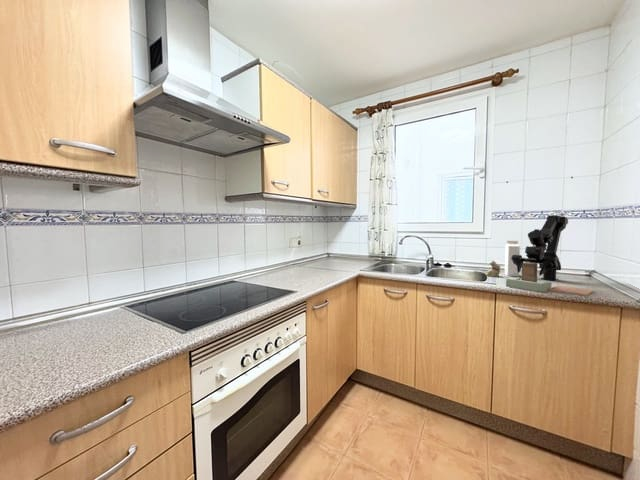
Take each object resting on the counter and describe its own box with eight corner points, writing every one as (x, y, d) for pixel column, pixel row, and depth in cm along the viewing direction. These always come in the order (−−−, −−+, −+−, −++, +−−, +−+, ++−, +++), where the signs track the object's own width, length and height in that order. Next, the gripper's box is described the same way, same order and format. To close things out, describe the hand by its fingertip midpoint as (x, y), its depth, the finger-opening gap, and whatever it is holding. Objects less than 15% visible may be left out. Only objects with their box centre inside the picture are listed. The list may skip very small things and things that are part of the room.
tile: (558, 286, 137) (558, 285, 137) (593, 291, 126) (593, 290, 126) (549, 290, 130) (549, 288, 130) (586, 296, 119) (586, 294, 119)
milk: (504, 274, 171) (505, 240, 170) (515, 274, 169) (516, 240, 168) (507, 276, 165) (508, 241, 164) (519, 276, 163) (520, 241, 162)
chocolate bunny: (501, 277, 162) (501, 261, 161) (486, 276, 165) (486, 260, 165) (499, 275, 167) (500, 260, 166) (485, 274, 170) (485, 259, 170)
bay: (516, 282, 147) (517, 275, 146) (551, 287, 134) (551, 280, 134) (506, 286, 139) (506, 278, 139) (541, 292, 127) (541, 283, 127)
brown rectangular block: (525, 285, 141) (525, 262, 140) (536, 287, 136) (537, 263, 136) (521, 286, 138) (522, 262, 137) (532, 288, 134) (533, 264, 133)
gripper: (513, 240, 146) (503, 261, 141) (556, 241, 130) (548, 265, 125) (518, 253, 151) (509, 274, 145) (561, 256, 135) (553, 280, 130)
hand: (528, 273), depth 136 cm, fingers open, 9 cm apart
